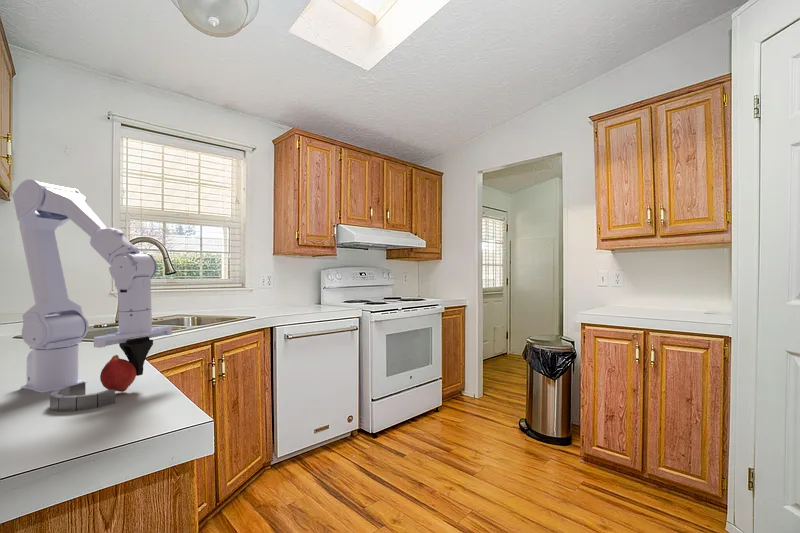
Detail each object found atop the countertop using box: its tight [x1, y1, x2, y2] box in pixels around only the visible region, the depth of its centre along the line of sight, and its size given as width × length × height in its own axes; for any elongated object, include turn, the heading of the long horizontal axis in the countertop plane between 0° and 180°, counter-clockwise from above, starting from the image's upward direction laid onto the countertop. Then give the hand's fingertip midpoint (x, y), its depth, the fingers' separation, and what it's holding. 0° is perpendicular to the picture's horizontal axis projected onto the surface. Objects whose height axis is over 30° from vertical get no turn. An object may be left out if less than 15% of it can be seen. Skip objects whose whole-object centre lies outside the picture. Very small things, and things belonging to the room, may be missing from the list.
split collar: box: [49, 382, 116, 413], centre depth 71 cm, size 11×7×3 cm, turn 65°
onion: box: [99, 354, 137, 393], centre depth 77 cm, size 6×6×8 cm
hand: (136, 374), depth 80 cm, fingers closed, pressing on onion
